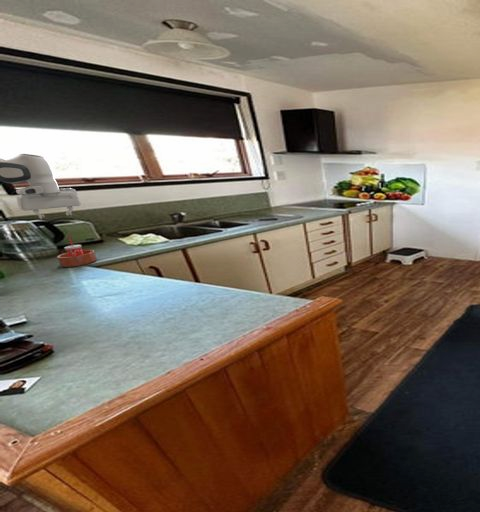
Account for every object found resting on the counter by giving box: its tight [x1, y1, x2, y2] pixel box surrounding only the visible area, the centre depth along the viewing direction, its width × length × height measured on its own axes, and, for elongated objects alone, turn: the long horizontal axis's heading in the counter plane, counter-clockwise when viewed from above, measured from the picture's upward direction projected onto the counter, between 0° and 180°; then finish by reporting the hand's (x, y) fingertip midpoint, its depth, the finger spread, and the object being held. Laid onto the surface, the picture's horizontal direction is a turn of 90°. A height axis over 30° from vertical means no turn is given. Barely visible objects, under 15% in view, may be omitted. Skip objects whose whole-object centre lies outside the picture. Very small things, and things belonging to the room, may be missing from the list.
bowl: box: [56, 249, 98, 268], centre depth 144 cm, size 13×13×6 cm
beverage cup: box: [63, 236, 83, 257], centre depth 143 cm, size 6×6×14 cm
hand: (56, 217), depth 138 cm, fingers open, 8 cm apart
